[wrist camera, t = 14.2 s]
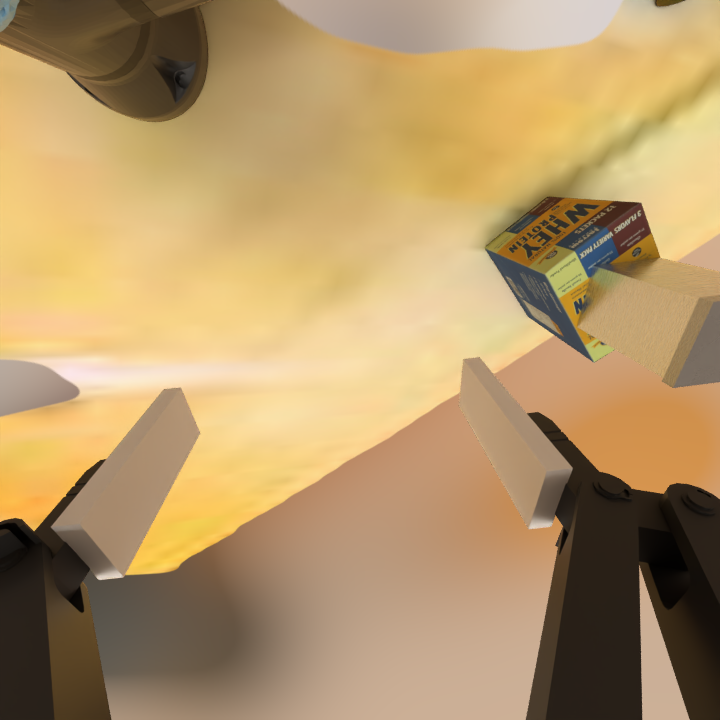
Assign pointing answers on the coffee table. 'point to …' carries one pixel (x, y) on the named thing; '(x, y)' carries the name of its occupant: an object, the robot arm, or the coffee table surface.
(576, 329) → the protein box
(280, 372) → the coffee table surface
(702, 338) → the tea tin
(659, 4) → the frog statue
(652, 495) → the robot arm
